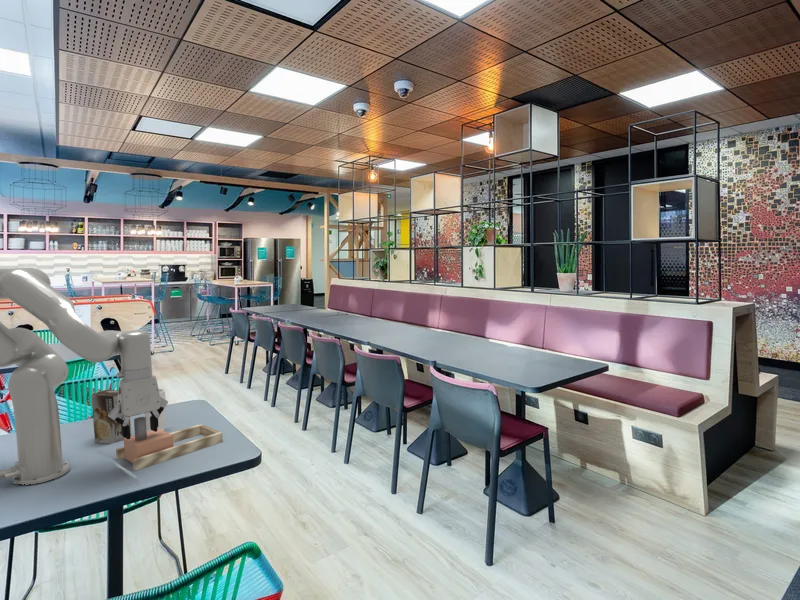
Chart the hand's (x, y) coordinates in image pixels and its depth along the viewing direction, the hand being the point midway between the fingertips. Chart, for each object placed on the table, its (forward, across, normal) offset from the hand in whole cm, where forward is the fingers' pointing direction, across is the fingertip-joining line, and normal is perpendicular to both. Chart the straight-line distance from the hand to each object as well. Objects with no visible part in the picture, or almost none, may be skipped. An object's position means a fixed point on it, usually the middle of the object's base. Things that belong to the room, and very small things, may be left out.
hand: (140, 433), depth 135 cm
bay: (+9, +8, 0) cm, 12 cm away
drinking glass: (+9, +12, +20) cm, 25 cm away
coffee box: (+9, +2, +26) cm, 28 cm away
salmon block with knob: (+7, +2, 0) cm, 8 cm away
